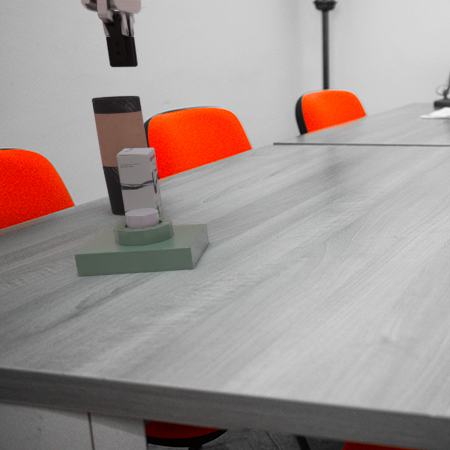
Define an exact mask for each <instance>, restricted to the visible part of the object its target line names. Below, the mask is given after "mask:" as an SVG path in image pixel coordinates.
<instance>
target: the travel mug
mask: <svg viewBox="0 0 450 450" xmlns="http://www.w3.org/2000/svg"><path fill="white" fill-rule="evenodd" d="M91 103H92V110H93V111H92V112H93V116H94V121H95V129H96V134H97V141H98V147H99V154H100V159H101V160H100V161H101V165H102V171H103V176H104V180H105V184H106V186H105V187H106V190H107V194H108V200H109V204H110V209H111V213H112V214H113V215H117V216H125V209H124V202H123V196H122V189H121V183H120V177H119V170H118V163H117V154H118V153H119V152H120V151H122V150H123V149H126V148H149V147H148V142H147V134H146V129H145V123H144V117H143V116H144V115H143V110H142V103H141V97H140V96H139V95H113V96H99V97H92V98H91Z"/></svg>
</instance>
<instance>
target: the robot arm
mask: <svg viewBox="0 0 450 450" xmlns="http://www.w3.org/2000/svg"><path fill="white" fill-rule="evenodd" d="M80 3H81V5H82V7H83V8H84V9H86V10H87V11H90V12H93V13H97V18H98V19H99V20H101V22H102V27H103V28H102V29H103V32H104V33H103V34H104V36H105V41H106V48H107V54H108V55H107V56H108V61H109V66H110V67H111V68H136V67H138V65H139V62H138V55H137V48H136V47H137V46H136V40H135V28H134V24H135V22H136V19H135V15H137V14H139V13H140V12H141V11H142V0H80Z"/></svg>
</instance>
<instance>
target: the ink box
mask: <svg viewBox="0 0 450 450" xmlns="http://www.w3.org/2000/svg"><path fill="white" fill-rule="evenodd" d="M156 159H157V158H156V151H155V148H154V147H148V148H126V149H123V150H122V151H120V152H119V153H118V154H117V163H118V170H119V177H120V183H121V189H122V196H123V202H124V209H125V213H126V212H128V211H131V210H135V209H141V208H155V209H157V210H158V215H159V217H163V216H162V215H163V213H164V211H163V203H162V195H161V188H160V180H159V173H158V166H157V160H156Z"/></svg>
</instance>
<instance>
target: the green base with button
mask: <svg viewBox="0 0 450 450" xmlns="http://www.w3.org/2000/svg"><path fill="white" fill-rule="evenodd" d="M159 222H160V224H158V225H155V226H152V227H146V228H135V229H132V228H127V222H126V220H124V221H122V222H119V223H117V224H116V225H114V227H113V228H107V229H104V230H103V231H101V232H100V233H99V234H98V235H97V236H95V237H94V238H93V239H92V240H90V241H89V242H88V243H87V244H85V245H84V246H83V247H82V248H81V249H79V250H78V251H76V252H75V253H74V255H73V256H74V260H75V265H76V266H75V267H76V270H77V276H78V277H88V276H89V277H91V276H93V277H95V276H106V275H107V276H108V275H123V274H125V275H126V274H137V273H140V274H141V273H155V272H170V271H186V270H185V269H187V270H194V269H193V268H195V267H196V265H197V264H198V262H199V260H200V258H201V257H202V255H203V253H204V252H205V250H206V248H207V246H208V245H209V243H210V239H209V232H208V224H207V223H193V224H192V223H191V224H176V225H175V224H174V225H173V221H172V219H171V218H170V217H166V216H161V217H159ZM196 263H197V264H196Z"/></svg>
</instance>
